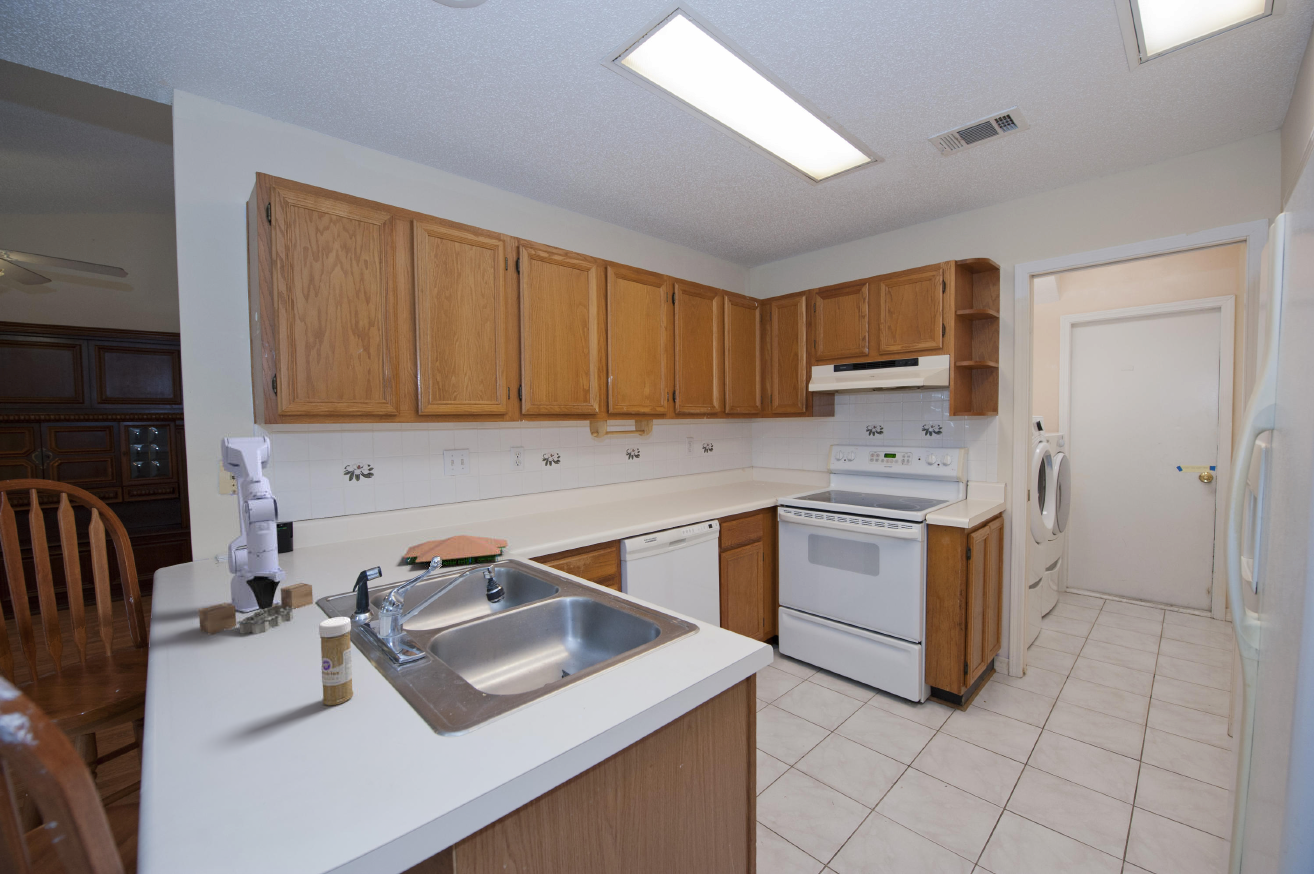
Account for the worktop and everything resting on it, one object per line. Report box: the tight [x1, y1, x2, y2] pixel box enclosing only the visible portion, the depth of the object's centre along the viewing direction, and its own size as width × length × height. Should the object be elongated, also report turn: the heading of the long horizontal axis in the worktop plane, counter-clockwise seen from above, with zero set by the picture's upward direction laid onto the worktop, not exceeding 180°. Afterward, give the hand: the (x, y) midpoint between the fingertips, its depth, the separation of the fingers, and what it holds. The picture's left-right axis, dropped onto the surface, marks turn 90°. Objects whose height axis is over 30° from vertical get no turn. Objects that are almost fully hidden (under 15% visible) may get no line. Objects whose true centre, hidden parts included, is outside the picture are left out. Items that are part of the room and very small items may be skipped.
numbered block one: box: [280, 582, 314, 611], centre depth 139 cm, size 5×5×5 cm
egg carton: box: [236, 602, 296, 635], centre depth 126 cm, size 11×8×4 cm
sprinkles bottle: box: [318, 616, 354, 706], centre depth 90 cm, size 5×5×13 cm
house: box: [403, 534, 509, 565], centre depth 183 cm, size 23×33×8 cm
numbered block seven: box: [198, 602, 237, 635], centre depth 125 cm, size 5×5×5 cm
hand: (265, 607), depth 126 cm, fingers closed
